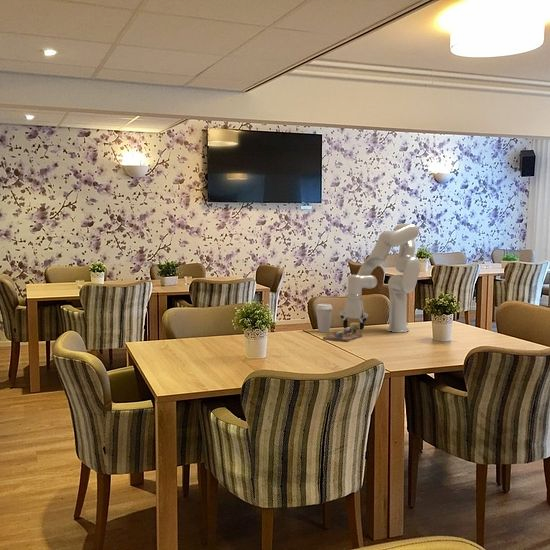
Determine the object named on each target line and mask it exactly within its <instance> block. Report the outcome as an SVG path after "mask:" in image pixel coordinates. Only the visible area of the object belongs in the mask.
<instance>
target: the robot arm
mask: <svg viewBox="0 0 550 550" xmlns="http://www.w3.org/2000/svg"><path fill="white" fill-rule="evenodd" d="M419 232H420V230H419V227H418V226H417V225H416V224H414V223H399V224H397V225H395V227H394V229H393V230H384V231H382V232H381V233H380V234H379V236H378V238H377V241H376V243H375V244H374V248H373V249H372V251H371V254H370V255H369V256H368V257H367V258H366V260H365V261H364V262H363V263H362V264H361V266H360V267H359V270H358V272H357V273H356V274H350V275H348V278H347V294H345V298H346V299H345V302H344V307H343V310H341V311H339V316H340V318H341V319H342V321H343V323H342V324H343V325H342V326H343V328H344V329H345V328H348V319H353V320H354V319H355V320H356V319H357V320H359V321H360V322H359V323H360V331H363V330H364V329H365V322H367V320H368V318H369V314H368V313H367V312H365V310H364V303H363V302H364V301H363V300H362V294H363V292H362V290H363V289H368V290H369V289H373V288H375V287H377V285H378V279H377V278H376V277H377V276H375V275H373V274H372V273H373V270H375V269H376V268H377V267H378V266H380V265H382V264H383V263H385V262H386V260H387V258H388V255H389V253H390V251H391V249H392V248H395V247H399V250H398V253H397V258H396V261H395V267H394V268H395V270H396V272H399V273H402V274H392V275H391V276H390V277H389V279H388V282H387V287H388V293H389V295H388V296H389V315H388V316H389V317H388V319H389V320H388V321H389V323H388V325H389V326H388V327H386V331H387V332H390V331H392V332H391V333H407V331H408V332H410V328H408V327H407V326H408V324H409V323H408V320H407V319H408V317H407V316H408V313H407V310H408V307H407V305H408V298H407V294H411V293H412V292H413V291H414V290H415V288H416V285H417V282H418V278H419V274H420V272H421V262H420V259H418V258H417V257H415V252H416V242H415V239H416V238H417V237H418V236H419Z"/></svg>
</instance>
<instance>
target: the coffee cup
mask: <svg viewBox="0 0 550 550" xmlns="http://www.w3.org/2000/svg"><path fill="white" fill-rule="evenodd" d="M315 310H316V320H317V321H316V322H317V331H320V332H319V333H330V332H331V322H332V311H333V306H332V304H329V303H318V304H316V307H315ZM329 331H330V332H329Z"/></svg>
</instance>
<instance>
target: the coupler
mask: <svg viewBox="0 0 550 550" xmlns="http://www.w3.org/2000/svg"><path fill="white" fill-rule="evenodd" d="M360 323H361V322H354V321H353V322H349V327H351V328H353V334H361V333H360V331H361V330H360Z"/></svg>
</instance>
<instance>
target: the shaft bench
mask: <svg viewBox="0 0 550 550" xmlns="http://www.w3.org/2000/svg"><path fill="white" fill-rule="evenodd" d="M361 338H363V334H361V333H360V334H353V328H351V327H350V326H349V327H347V328H344V329H343V330H340V331H335V332H334V333H332V334H328V335H325V336H323V337H322V340H326V341H335V342H343V343H350V342H351V341H354V340H356V339H357V340H358V339H361Z"/></svg>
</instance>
